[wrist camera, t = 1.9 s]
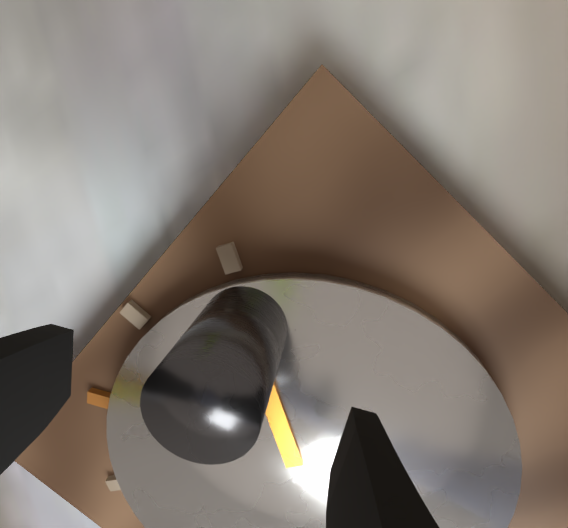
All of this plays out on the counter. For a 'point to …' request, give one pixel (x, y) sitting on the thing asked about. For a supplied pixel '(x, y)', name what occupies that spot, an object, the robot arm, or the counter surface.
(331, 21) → the counter surface
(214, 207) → the dial base
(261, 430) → the dial
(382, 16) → the counter surface
